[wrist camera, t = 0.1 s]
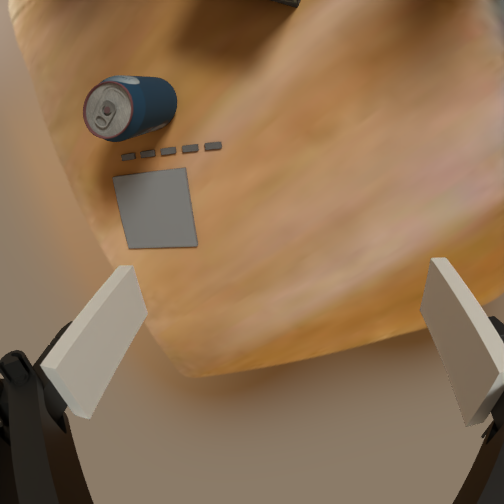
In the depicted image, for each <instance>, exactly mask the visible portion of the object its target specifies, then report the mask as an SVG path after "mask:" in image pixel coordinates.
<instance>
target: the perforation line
mask: <svg viewBox="0 0 504 504" xmlns="http://www.w3.org/2000/svg"><path fill="white" fill-rule="evenodd" d="M219 148H222V145H221V142H213V143H205V149H206V150H209V149H219ZM182 149H183V152H190V151H198V150H199V149H198V144H194V145H186V146H182ZM173 153H176V147H170V148H163V149H161V155H166V154H173ZM140 154H141V158H144V157H151V156H155V150H150V151H143V152H140ZM121 157H122V161H125V160H132V159H136V157H135V153H131V154H125V155H121Z"/></svg>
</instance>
